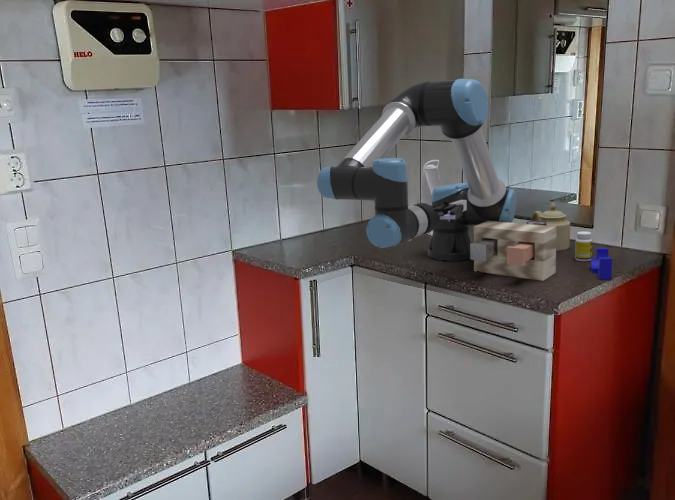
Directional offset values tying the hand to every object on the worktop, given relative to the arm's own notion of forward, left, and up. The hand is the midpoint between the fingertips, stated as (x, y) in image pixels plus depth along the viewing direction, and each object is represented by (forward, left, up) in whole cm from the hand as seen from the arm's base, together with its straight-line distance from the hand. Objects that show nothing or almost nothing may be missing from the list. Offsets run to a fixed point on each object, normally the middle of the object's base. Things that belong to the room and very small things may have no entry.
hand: (464, 204), depth 167 cm
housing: (+6, +19, -23) cm, 30 cm away
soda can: (+6, +34, -23) cm, 41 cm away
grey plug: (0, +14, -17) cm, 22 cm away
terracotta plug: (+11, +14, -17) cm, 25 cm away
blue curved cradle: (+27, +29, -23) cm, 46 cm away
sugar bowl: (+2, +52, -23) cm, 57 cm away
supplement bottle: (+18, +41, -23) cm, 50 cm away
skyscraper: (-42, +51, -23) cm, 70 cm away
